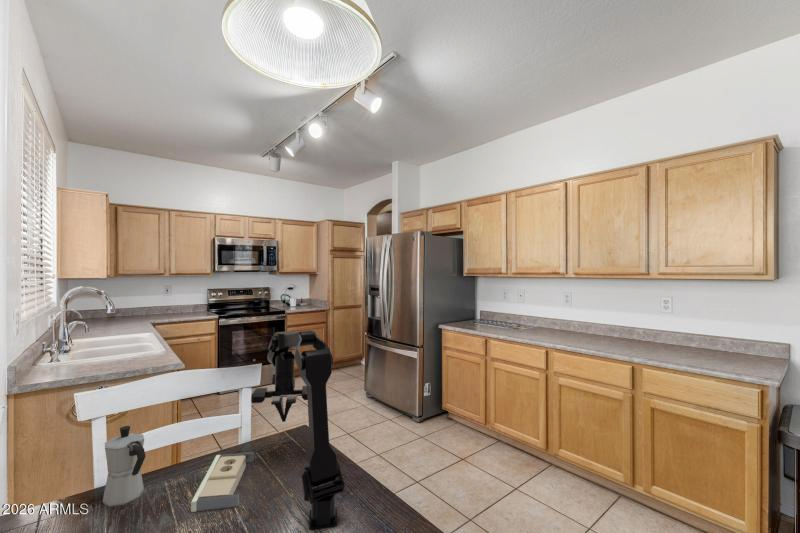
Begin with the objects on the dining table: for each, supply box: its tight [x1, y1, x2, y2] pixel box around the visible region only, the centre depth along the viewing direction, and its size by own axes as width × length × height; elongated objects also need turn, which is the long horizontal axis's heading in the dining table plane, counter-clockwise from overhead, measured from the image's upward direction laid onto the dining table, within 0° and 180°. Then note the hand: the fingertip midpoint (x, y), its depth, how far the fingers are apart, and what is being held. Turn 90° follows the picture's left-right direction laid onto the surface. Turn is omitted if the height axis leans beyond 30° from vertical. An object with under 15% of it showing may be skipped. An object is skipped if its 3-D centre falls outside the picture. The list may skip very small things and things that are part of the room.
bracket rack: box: [190, 451, 255, 513], centre depth 102 cm, size 23×11×2 cm, turn 12°
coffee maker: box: [101, 425, 146, 508], centre depth 95 cm, size 15×9×18 cm, turn 62°
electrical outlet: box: [198, 455, 247, 498], centre depth 101 cm, size 7×4×18 cm
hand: (283, 421), depth 115 cm, fingers closed
